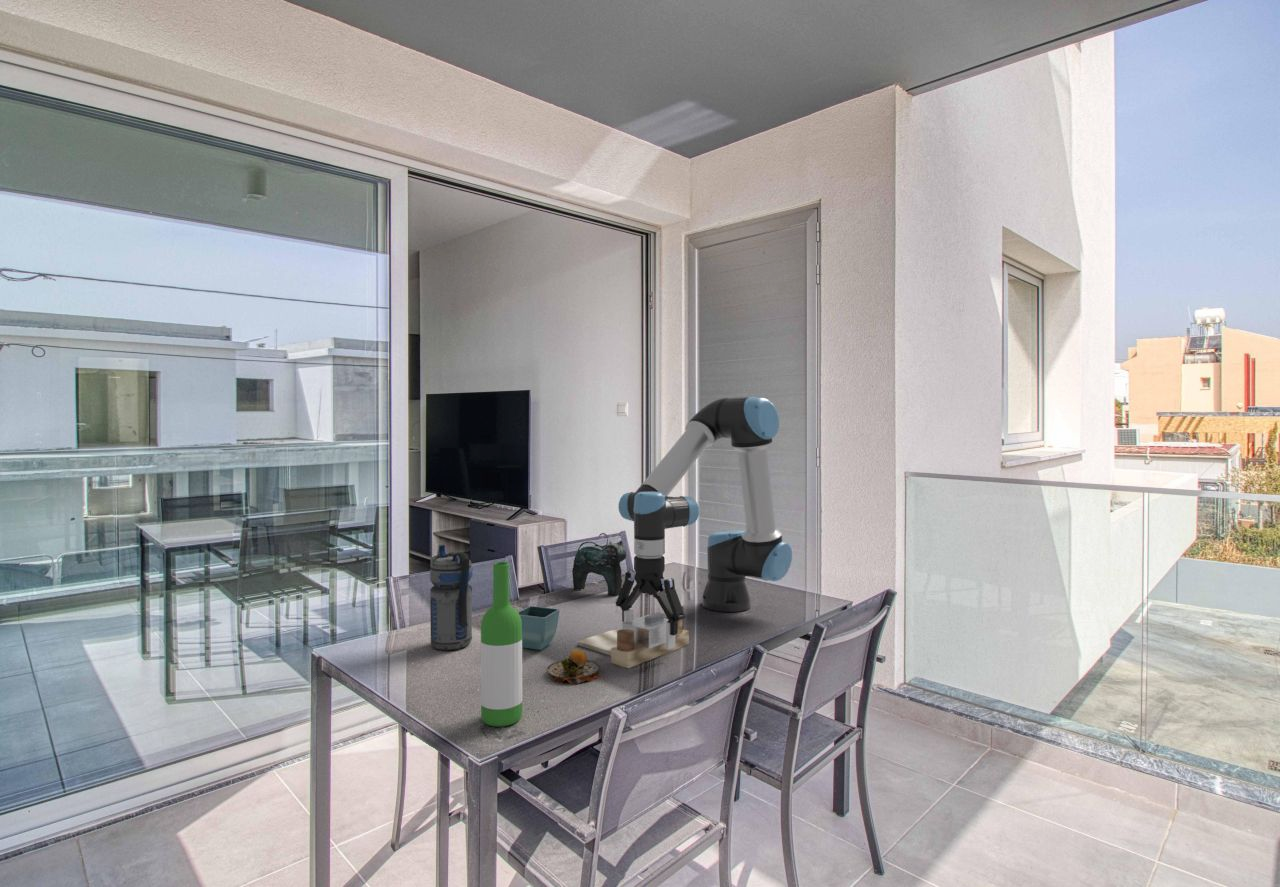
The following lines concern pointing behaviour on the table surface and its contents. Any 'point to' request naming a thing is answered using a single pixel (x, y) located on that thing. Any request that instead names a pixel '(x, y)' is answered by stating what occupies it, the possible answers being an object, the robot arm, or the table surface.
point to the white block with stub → (648, 630)
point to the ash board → (601, 642)
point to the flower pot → (538, 626)
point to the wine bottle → (501, 655)
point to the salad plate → (574, 669)
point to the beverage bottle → (450, 600)
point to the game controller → (600, 565)
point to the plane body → (634, 655)
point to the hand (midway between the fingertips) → (649, 641)
